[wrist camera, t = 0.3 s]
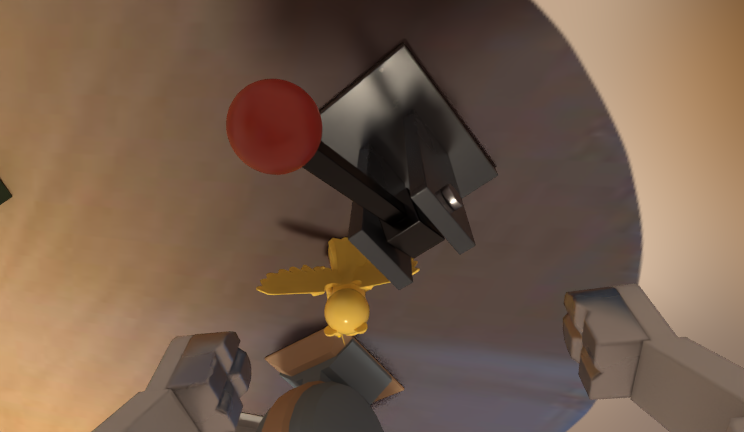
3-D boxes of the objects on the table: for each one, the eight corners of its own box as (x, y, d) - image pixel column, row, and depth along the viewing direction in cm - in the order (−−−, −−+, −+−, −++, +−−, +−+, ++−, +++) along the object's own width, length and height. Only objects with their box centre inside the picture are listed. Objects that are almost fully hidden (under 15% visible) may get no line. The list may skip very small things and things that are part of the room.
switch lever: (204, 101, 17) (205, 164, 15) (268, 41, 16) (278, 99, 14) (389, 224, 27) (406, 274, 24) (438, 193, 25) (460, 242, 23)
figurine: (310, 328, 44) (295, 406, 36) (276, 230, 38) (250, 300, 30) (428, 316, 43) (437, 394, 35) (413, 212, 36) (420, 280, 29)
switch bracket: (306, 121, 32) (266, 210, 22) (403, 41, 29) (413, 98, 18) (403, 227, 37) (410, 343, 26) (495, 168, 34) (546, 273, 23)
